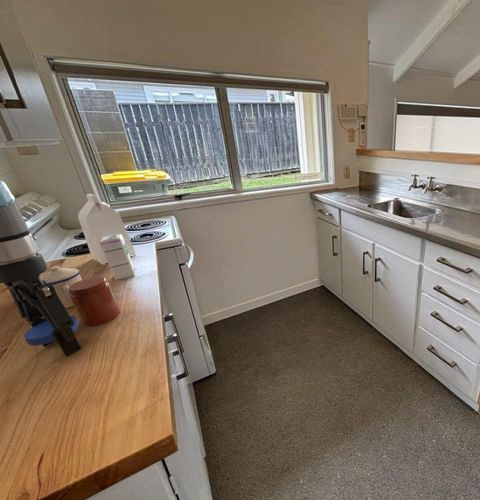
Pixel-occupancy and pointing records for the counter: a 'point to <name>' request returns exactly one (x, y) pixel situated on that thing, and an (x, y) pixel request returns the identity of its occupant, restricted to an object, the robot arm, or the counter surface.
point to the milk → (101, 226)
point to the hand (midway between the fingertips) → (62, 347)
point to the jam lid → (44, 333)
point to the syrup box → (117, 256)
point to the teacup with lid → (62, 282)
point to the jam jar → (94, 301)
